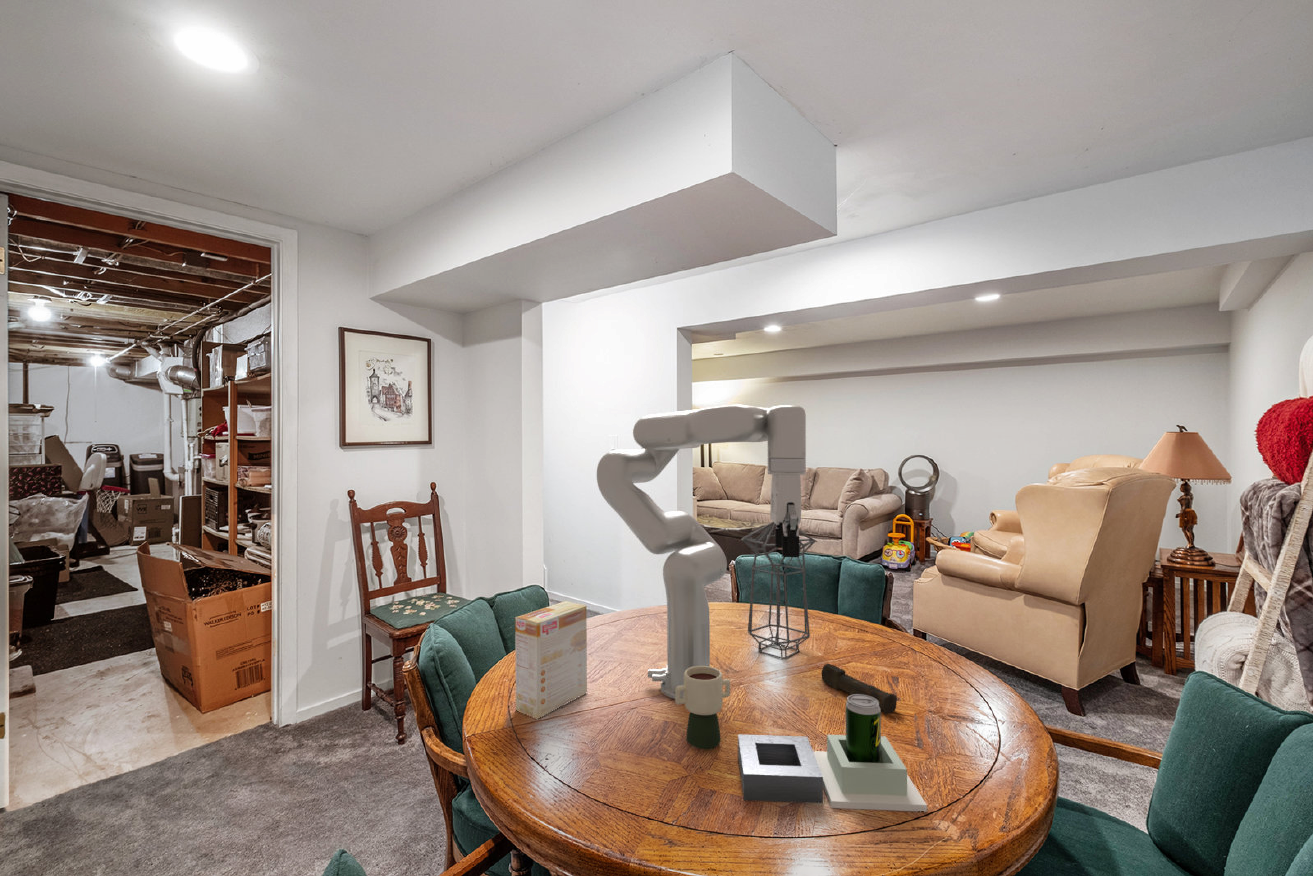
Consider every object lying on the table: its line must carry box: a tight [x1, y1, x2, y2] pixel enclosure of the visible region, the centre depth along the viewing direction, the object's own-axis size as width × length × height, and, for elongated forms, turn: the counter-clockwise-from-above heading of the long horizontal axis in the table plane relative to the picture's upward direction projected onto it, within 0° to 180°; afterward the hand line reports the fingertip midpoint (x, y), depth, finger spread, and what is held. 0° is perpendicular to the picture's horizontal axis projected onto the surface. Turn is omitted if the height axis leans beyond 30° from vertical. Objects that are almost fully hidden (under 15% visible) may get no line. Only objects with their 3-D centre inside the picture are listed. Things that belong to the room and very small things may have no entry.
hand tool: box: [821, 663, 898, 715], centre depth 123 cm, size 19×4×5 cm, turn 28°
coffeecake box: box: [514, 600, 588, 720], centre depth 120 cm, size 15×7×20 cm, turn 145°
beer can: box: [845, 694, 882, 763], centre depth 92 cm, size 5×5×12 cm
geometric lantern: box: [741, 521, 818, 660], centre depth 150 cm, size 16×16×35 cm
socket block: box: [737, 733, 824, 804], centre depth 92 cm, size 12×12×4 cm
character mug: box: [674, 665, 731, 751], centre depth 103 cm, size 11×7×13 cm, turn 108°
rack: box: [813, 734, 928, 813], centre depth 91 cm, size 14×14×5 cm
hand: (786, 552), depth 113 cm, fingers open, 9 cm apart
